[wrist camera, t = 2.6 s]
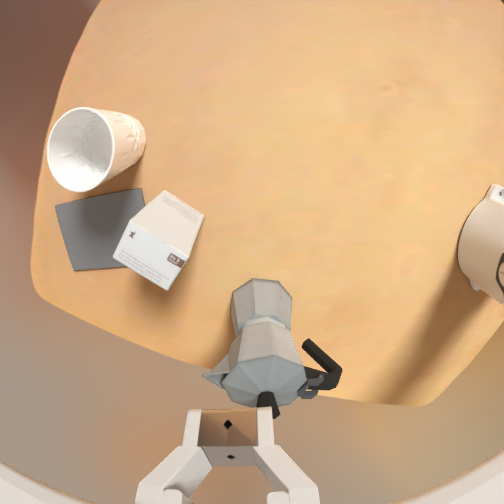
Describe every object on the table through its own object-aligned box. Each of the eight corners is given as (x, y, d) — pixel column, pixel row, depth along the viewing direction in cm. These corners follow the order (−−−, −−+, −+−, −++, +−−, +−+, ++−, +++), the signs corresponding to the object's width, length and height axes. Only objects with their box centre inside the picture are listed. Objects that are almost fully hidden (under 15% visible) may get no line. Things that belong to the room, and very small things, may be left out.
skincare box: (148, 216, 34) (107, 259, 23) (165, 186, 33) (126, 218, 22) (189, 242, 36) (165, 295, 25) (208, 214, 34) (189, 258, 23)
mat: (141, 187, 33) (140, 188, 32) (157, 262, 37) (156, 263, 36) (56, 205, 33) (54, 206, 33) (74, 269, 37) (73, 270, 37)
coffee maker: (212, 324, 41) (197, 431, 24) (217, 271, 37) (196, 379, 21) (312, 333, 42) (338, 434, 25) (328, 283, 38) (371, 385, 22)
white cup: (141, 180, 32) (104, 202, 23) (88, 164, 31) (41, 181, 22) (159, 117, 29) (124, 115, 20) (103, 104, 28) (56, 102, 19)
